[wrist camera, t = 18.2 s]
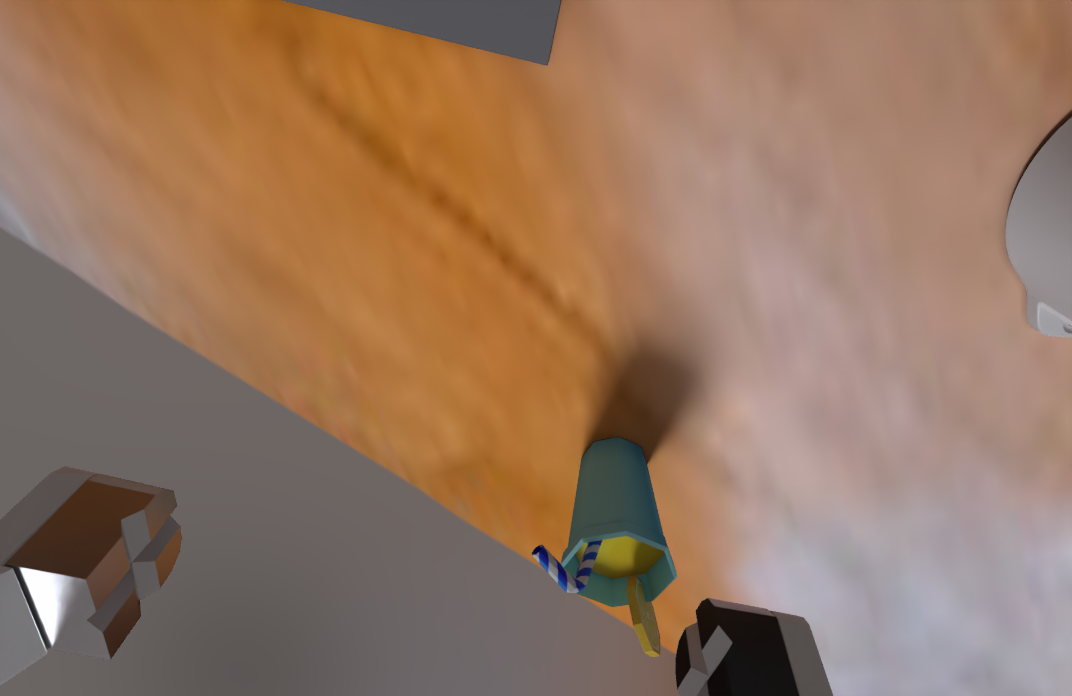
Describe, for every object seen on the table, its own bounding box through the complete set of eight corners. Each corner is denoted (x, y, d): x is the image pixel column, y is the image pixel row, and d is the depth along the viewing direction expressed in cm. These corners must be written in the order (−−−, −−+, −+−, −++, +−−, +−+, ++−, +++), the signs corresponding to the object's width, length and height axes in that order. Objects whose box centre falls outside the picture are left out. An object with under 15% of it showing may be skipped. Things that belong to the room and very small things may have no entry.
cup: (513, 425, 48) (485, 589, 35) (589, 374, 45) (588, 535, 32) (621, 523, 53) (630, 698, 40) (697, 484, 50) (733, 660, 37)
